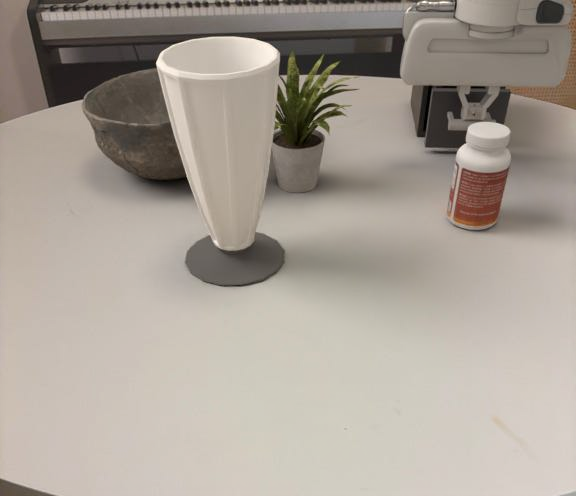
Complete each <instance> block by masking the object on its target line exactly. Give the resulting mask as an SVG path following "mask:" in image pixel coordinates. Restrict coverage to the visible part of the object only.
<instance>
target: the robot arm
mask: <svg viewBox="0 0 576 496" xmlns="http://www.w3.org/2000/svg"><path fill="white" fill-rule="evenodd" d="M414 9H415V10H414ZM574 9H575V8H574V5H573V3H572V1H570V0H418V1H417V3H415V4H412V5H411V6H409V7H408V8H407V9H406V11H405V12H404V15H403V17H402V26H401V33H402V37H403V39H404V44H403V49H402V53H401V58H400V65H399V67H400V68H399V76H400V78H401V80H402V81H403V82H404V84H405V85H407V86H413V85H435V86H457V88H456V89H457V92H458V95H459V97H460V100H461V102H462V110H461V119H462V120H482V121H484V119H485V115H486V110H487V108H488V107H489V106H490V105H491V103H492V102H493V101H494V100H495V99H496V97H497V96H498V95H499V90H500V86H506V87H508V88H509V87H512V88H513V87H514V88H515V87H517V88H518V87H520V88H556V87H557V86H558V85H560V84H561V83H562V82H563V81H564V79H565V77H566V74H567V70H568V66H569V63H570V62H569V61H570V56H571V50H572V49H571V48H572V41H573V40H572V31H571V29H570V28H569V27H568V25H569V23H570V22H571V21H572V18H573V15H574ZM471 86H486V87H485V88H486V90H487V93H486V95H485V96H484V98H483V99H482V100H481V102H480V103H468V102H467V99H466V97H465V94H469V93H470V88H471Z"/></svg>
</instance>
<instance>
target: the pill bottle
mask: <svg viewBox="0 0 576 496" xmlns="http://www.w3.org/2000/svg"><path fill="white" fill-rule="evenodd" d="M511 133H512V132H511V129H510V128H509V127H508V126H506V125H505V124H504V125H502V124H499V123H494V122H478V123H474V124H472V125H470V126H469V127H468V130H467V135H466V144H464V145H463V146H461V147H460V148H458V150H457V151H456V155H455V159H454V166H453V173H452V177H451V185H450V190H449V195H448V202H447V207H446V208H447V209H446V217H447V220H448V221H449V222H450V223H451V224H452V225H454V226H456V227H458V228H460V229H465V230H470V231H482V230H486V229H488V228H492V227H493V226H494V225H495V224H496V223H497V221H498V219H499V215H500V212H501V211H500V210H501V206H502V201H503V198H504V193H505V188H506V184H507V179H508V175H509V171H510V167H511V162H512V155H511V152H510V150H509V149H508V148H507V146H508V144H509V142H510V137H511Z"/></svg>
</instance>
